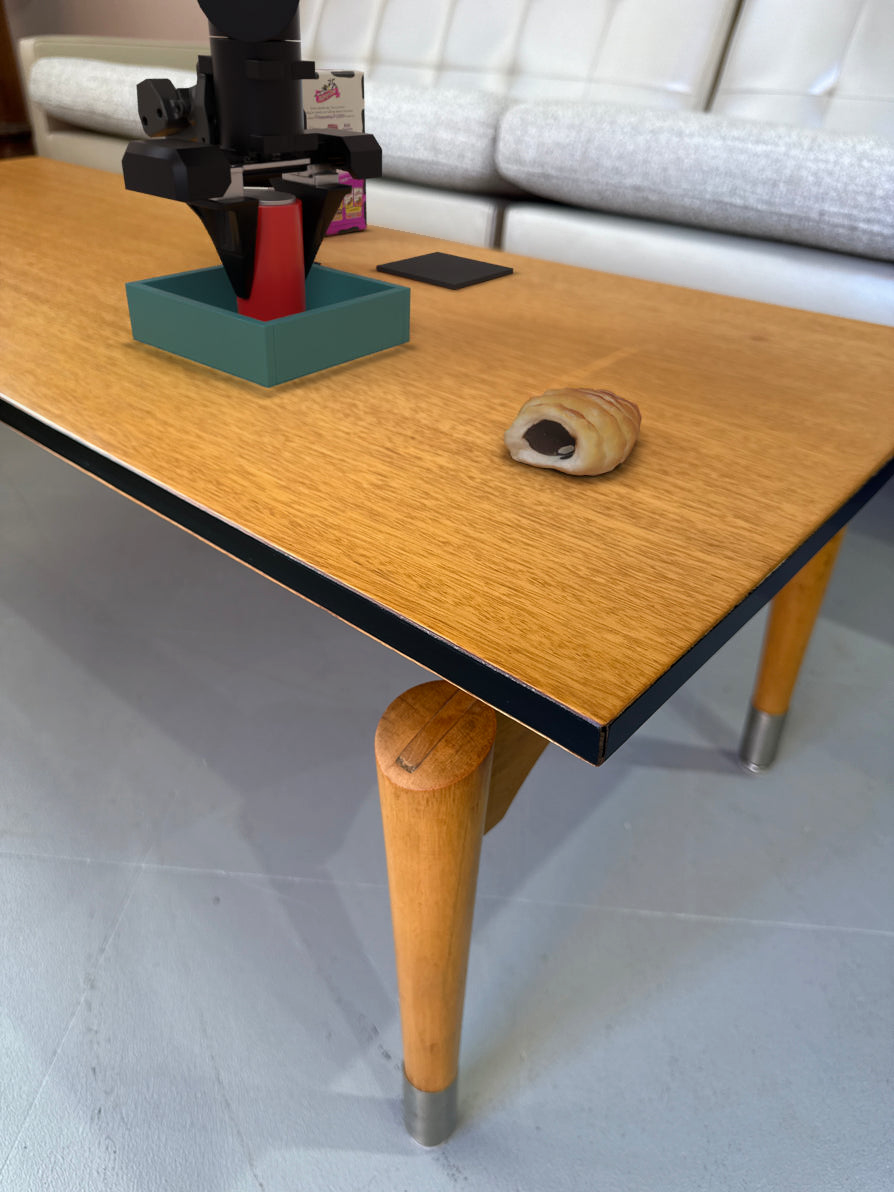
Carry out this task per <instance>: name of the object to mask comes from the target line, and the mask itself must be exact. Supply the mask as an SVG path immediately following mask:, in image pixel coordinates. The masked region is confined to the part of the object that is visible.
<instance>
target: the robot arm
mask: <svg viewBox="0 0 894 1192" xmlns="http://www.w3.org/2000/svg"><path fill="white" fill-rule="evenodd" d="M196 1H197V4H198V7H199V8H200V10H201V11H202V13H203V15H204V16H205V17H206V19H207V26H208V36H210V37H209V38H208V39H209V49H210V50H209V51H210V54H197V62H196V64H195V69H196V83H195V84H194V85H192V86H189V87H176V86H175V84H174V83H173V82H172V80H171V79H169V78H168V77H167V78H145V79H143V80H142V81H140V82H138V83H137V84H136V98H137V99H136V101H137V102H136V103H137V112H138V118H139V120H140V123H141V126H142V129H143V132H144V134H145V135H147V137H149V138H151V139H138V140H129V142H128V143H127V145H126V148H125V150H124V153H123V154H122V158H121V168H122V175H123V182H124V190H126V191H131V192H136V193H140V194H143V195H148V196H153V197H157V198H162V199H165V200H170V201H174V202H179V203H180V202H181V203H184V204H185V205H186V206H187V207H188V208H190V210H191V211H192V212H193V213H194V214H195V215H196V216H197V217H198V218H199V220H200V221H201V223H202V226H203V227H204V229H205V230H206V232H207V234H208V236H209V238H210V239H211V242H212V244H213V246H214V248H215V250H216V253H217V255H218V257H219V260H220V262H221V265H222V264H223V267H224V269H225V271H226V274H227V276H228V278H229V280H230V283H231V285H232V287H233V290H234V292H235V294H236V296H237V297H239V298H242V299H249V298H250V295H251V289H252V284H253V277H254V263H255V249H256V235H257V222H258V208H259V199H256V198H251V197H247V196H244V192H245V191H278V192H285V193H290V194H293V195H295V196H296V198H297V199H299V200H301V202H302V220H303V245H304V269H305V281H306V279H307V276H308V274H309V272H310V269H311V267H312V265H313V264H317V265H321V266H322V262H319V261H315V260H316V257H317V255H318V254H319V250H320V248H321V246H322V243H323V241H324V239H325V237H326V236H325V234H326V232H327V230H328V228H329V226H330V224H331V222H332V220H333V218H334V216H335V214H336V212H337V210H338V209H339V207H340V205H341V203H342V201H343V199H344V197H345V196H346V195H347V194H351V193H352V189H353V186H352V185H347V184H342V183H339V173H337V169H338V170H341V171H346V172H348V173H349V174H350V175H351V177H352V178H353V179H356V180H362V179H366V180H370V179H377V178H382V177H383V148H382V146H381V144H380V143H379V141H378V140H377V138H376V136H375V134H373V133H368V132H365V133H361V132H354V131H347V130H340V129H333V128H322V129H307V116H306V112H305V110H304V108H303V87H302V79H316V78H315V69H316V61H315V60H304V59H302V42H301V40H302V38H301V37H302V36H301V12H300V11H301V8H300V1H301V0H196ZM153 138H154V139H153ZM268 188H274V189H268Z"/></svg>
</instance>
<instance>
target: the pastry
mask: <svg viewBox="0 0 894 1192" xmlns="http://www.w3.org/2000/svg"><path fill="white" fill-rule="evenodd" d="M641 423H642V414H641V411H640V408H639V406H638V405H637V404H636V403H635V402H633V401H630V400H628V399H626V398H624V397H622V396H619V395H617V394H616V393H615V392H613V391H610V390H608V389H603V388H598V389H597V388H596V389H594V388H591V387H590V388H589V387H586V388H585V387H578V388H573V387H563V388H551V389H546V390H545V391H544V392H543V393H542V395H536V396H532V397H530V398H529V399H528V400H527V401H525V402H524V403H523V404H522V406H521V407H520V409H519V410H518V413H517V416H516V417H515V418H514V420H513V422H512V423H511V425H510V426H509V428H507V429H506V430H505V431H504V433H503V436H502V437H503V443H504V445H505V447H506V448H507V449H508V450H509V452H510V457H511V458H512V459H513V460H515V461H516V462H518V463H519V462H520V463H523V464H526V465H529V466H531V467H534V468H543V469H544V468H545V469H554V470H557V471H559V472H562V473H565V474H568V475H574V476H585V475H586V476H591V477H595V476H599V475H601V474H604V473H608V472H612V471H613V470H614V469H615V468H616V467H617V466H618V465H619V464H621V465H622V464H623V463H624V461H626V459H627V457H628V456H629V455H630V453H631V451H632V450H633V447H634V446H635V443H636V441H637V439H638V437H639V435H640V431H641Z"/></svg>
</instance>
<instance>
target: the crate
mask: <svg viewBox="0 0 894 1192" xmlns="http://www.w3.org/2000/svg"><path fill="white" fill-rule="evenodd" d="M124 288H125V295H126V300H127V306H128V314H129V321H130V327H131V334H132V339H133V340H134V341H136V342H139V343H142V344H145V345H147V346H151V347H154V348H156V349H159V350H162V351H164V352H167V353H169V354H172V355H175V356H178V357H181V358H184V359H186V360H189V361H192V362H194V363H197V364H200V365H203V366H206V367H209V368H211V369H214V370H217V371H220V372H222V373H225V374H228V375H230V376H233V377H236V378H239V379H242V380H244V381H247V382H249V383H253V384H255V385H257V386H261V387H264V388H267V389H271V388H273V387H276V386H279V385H283V384H285V383H289V382H291V381H294V380H295V381H296V380H297V379H300V378H304V377H307V376H309V375H313V374H316V373H318V372H322V371H325V370H328V369H330V368H331V369H332V368H334V367H337V366H340V365H343V364H346V363H348V362H349V363H350V362H353V361H354V360H355V361H356V360H359V359H361V358H364V357H367V356H370V355H374V354H377V353H379V352H383V351H385V350H388V349H392V348H395V347H398V346H400V345H403V344H406V343H409V342H410V335H411V334H410V329H411V296H412V295H411V291H412V290H411V287H409V286H405V285H401V284H397V283H393V282H390V281H385V280H381V279H377V278H374V277H370V276H366V275H361V274H358V273H357V274H356V273H353V272H349V271H346V270H341V269H337V268H334V267H329V266H325V265H322V264H321V265H317V264H313V265H312V267H311V269H310V272H309V274H308V276H307V279H306V281H305V293H306V311H305V312H301V313H297V314H293V315H290V316H286V317H282V318H278V319H274V320H270V321H267V322H263V321H260V320H257V319H254V318H251V317H247V316H244V315H241V314H238V307H237V296H236V294H235V292H234V290H233V287H232V285H231V283H230V280H229V278H228V276H227V274H226V271H225V269H224V267H223V264H222V263H221V264H217V265H216V264H215V265H212V266H206V267H201V268H196V269H191V270H186V271H180V272H175V273H170V274H164V275H160V276H159V275H158V276H155V277H149V278H145V279H138V280H135V281H134V280H133V281H128V282H125V283H124Z"/></svg>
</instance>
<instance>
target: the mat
mask: <svg viewBox="0 0 894 1192" xmlns="http://www.w3.org/2000/svg"><path fill="white" fill-rule="evenodd" d="M375 268H376V269H375V270H376V271H377V272H381V273H383V274H389V275H393V276H397V277H401V278H406V279H410V280H414V281H417V282H422V283H425V284H430V285H435V286H438V287H442V288H446V289H451V290H459V289H461V288H462V289H463V288H466V287H469V286H472V285H476V284H479V283H484V282H487V281H491V280H494V279H497V278H500V277H504V276H508V275H511V274H514V268H513V267H509V266H504V265H499V264H496V263H495V264H494V263H490V262H487V261H483V260H482V261H481V260H478V259H473V258H468V257H464V256H459V255H455V254H450V253H446V252H441V251H435V252H430V253H426V254H421V255H417V256H413V257H408V258H404V259H400V260H395V261H391V262H385V263H382V264H378V265H376V267H375Z"/></svg>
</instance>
